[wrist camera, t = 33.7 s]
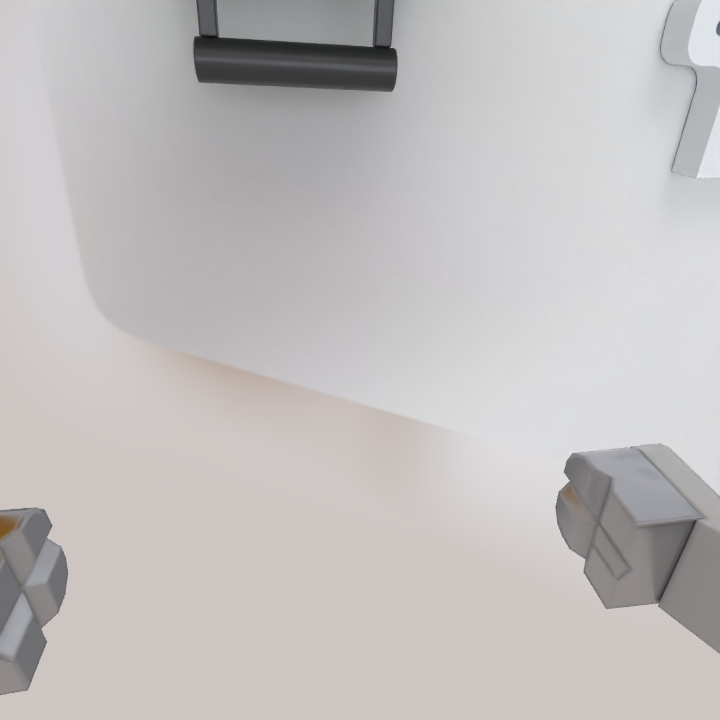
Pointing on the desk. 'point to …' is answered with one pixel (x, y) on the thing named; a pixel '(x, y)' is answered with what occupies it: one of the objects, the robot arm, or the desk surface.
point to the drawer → (296, 57)
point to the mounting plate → (714, 82)
